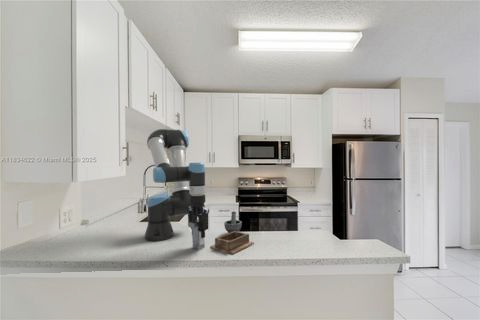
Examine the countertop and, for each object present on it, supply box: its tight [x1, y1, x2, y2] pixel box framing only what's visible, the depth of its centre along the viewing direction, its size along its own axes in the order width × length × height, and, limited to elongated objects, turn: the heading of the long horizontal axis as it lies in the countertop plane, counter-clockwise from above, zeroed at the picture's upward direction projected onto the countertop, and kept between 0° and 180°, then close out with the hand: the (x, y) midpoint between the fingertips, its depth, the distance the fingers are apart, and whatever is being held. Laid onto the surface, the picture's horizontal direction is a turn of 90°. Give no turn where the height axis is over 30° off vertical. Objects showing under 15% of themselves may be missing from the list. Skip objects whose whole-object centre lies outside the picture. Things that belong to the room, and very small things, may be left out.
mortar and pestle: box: [223, 211, 243, 234], centre depth 136 cm, size 11×9×12 cm
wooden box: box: [210, 231, 255, 255], centre depth 116 cm, size 14×16×5 cm
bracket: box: [187, 219, 206, 251], centre depth 115 cm, size 4×9×13 cm, turn 142°
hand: (198, 243), depth 115 cm, fingers closed on bracket, 4 cm apart
